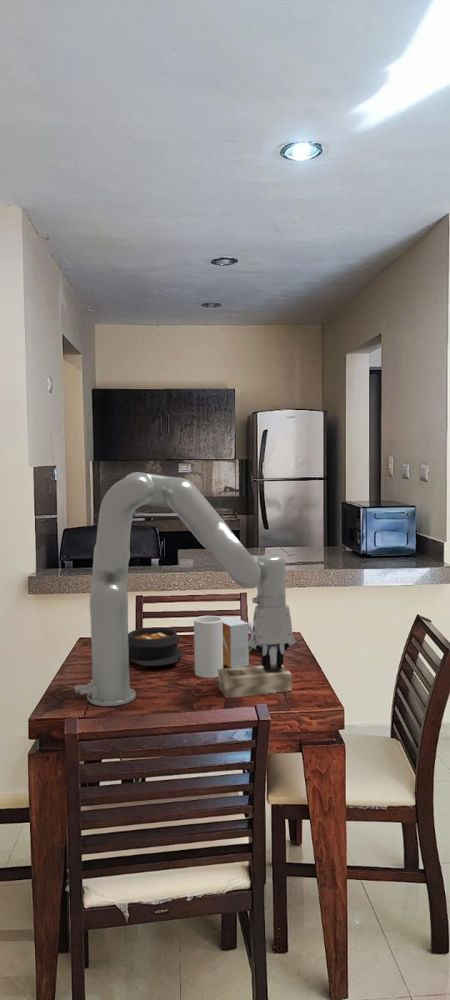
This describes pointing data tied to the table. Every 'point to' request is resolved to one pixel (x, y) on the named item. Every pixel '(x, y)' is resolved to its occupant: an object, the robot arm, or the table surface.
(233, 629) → the small box
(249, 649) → the water lily
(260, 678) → the hole block
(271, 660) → the peg
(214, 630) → the cup
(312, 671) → the table surface
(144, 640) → the casserole
